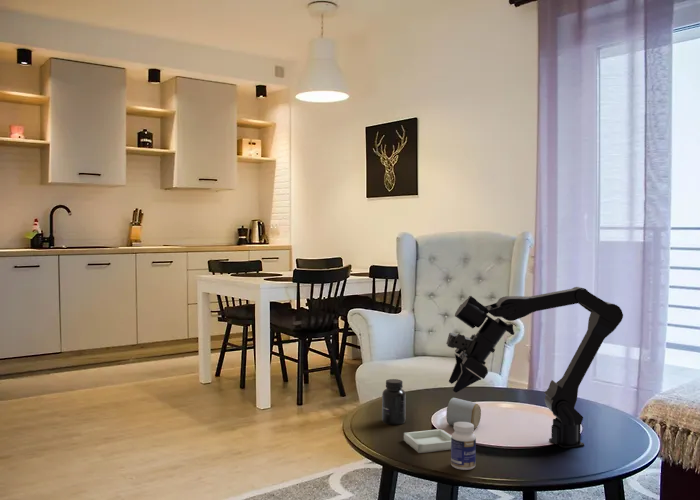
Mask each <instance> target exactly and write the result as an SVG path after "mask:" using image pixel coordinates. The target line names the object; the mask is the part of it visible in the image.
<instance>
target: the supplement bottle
mask: <svg viewBox="0 0 700 500" xmlns="http://www.w3.org/2000/svg"><path fill="white" fill-rule="evenodd" d="M403 386H404V385H403V381H402V380H401V379H397V378H391V379H386V381H385V389H384V390H383V391H382V395H381V397H382V399H381V402H382V403H381V405H382V406H381V421H382V422H383V424H386V425H391V426H399V425H402V424H404V423H405V422H406V413H407V411H406V409H407V408H406V407H407V406H406V405H407V404H406V402H407V400H406V399H407V398H406V396H407V395H406V391H405V390H404V389H403V388H404V387H403Z"/></svg>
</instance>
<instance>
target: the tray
mask: <svg viewBox="0 0 700 500" xmlns="http://www.w3.org/2000/svg"><path fill="white" fill-rule="evenodd" d="M451 436H452V434H450V433H448V432H447V431H446V430H444V429H442V428H437V429H429V430H428V429H427V430H420V431H410V432H403V441H404V442H405V443H406V444H407V445H409V447H411V448H412V449H413V450H414V451H416V452H417V453H418V454H424V453H425V454H426V453H432V452H442V451H448V450H449V451H451Z"/></svg>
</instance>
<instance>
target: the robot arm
mask: <svg viewBox="0 0 700 500" xmlns="http://www.w3.org/2000/svg"><path fill="white" fill-rule="evenodd" d="M576 304H578V305H579V306H581V307H582V308H583V309H585V310H587V311H588V312H590V313H589V317H588V323H587V330H586V332H585V334H584V336H583V337H582V339H581V342H580V344H579V346H578V347H577V350H576V351H575V353H574V355H573V357H572V359H571V361H570V362H569V364H568V366H567V368H566V370H565V372H564V374H563V376H562V377H561V378H560V379H559V380H558V381H556V382H555V381H554V380H552V379H551V381H550V383H549V385H548V388H546V390H545V391H544V394H545V397H544V403H545V406H546V407H547V408H548V409H549V411H551V413H552V415H553V416H554V417H555V418H553V419H552V425H551V438H548V441H549V442H551V443H553V444H555V443H556V444H555V445H557V444H559V446H558V447H561V448H562V449H569V448H578V447H584V446H585V443H584V442H582V441H581V428H582V427H581V425H582V423H583V420H584V417H583V415H581V413H580V412H579V411H577V409H576V408H575V406H576V404H577V401H578V394H579V387H580V385H581V383H582V381H583V379H584V377H585V376H586V374H587V371H588V370H589V368H590V367H591V365H592V362H593V361H594V360H595V357H596V355H597V353H598V351H599V349H600V348H601V345H602V344H603V342H604V340H605V339H606V338H607V337H608V336H610V335H611V333H613V332H614V331H615V330H616V329H617V327H618V326H619V325H620V323H621V322H622V321H623V318H624V313H623V310H622V308H621V307H620V306H619V305H618V304H615V303H611V302H609V301H605V300H603V299H601V298H599V296H596V295H594V294H593V293H591V292H590V291H588V289H586V288H583V287H580V286H574V287H572V288H569V289H568V288H567V289H564V290H558V291H553V292H547V293H541V294H537V295H531V296H529V295H528V296H522V295H521V296H520V295H516V296H514V295H513V296H512V295H509V296H507V295H506V296H501V297H500V298H499V299H498V300H497V301H496V302H494V303H491V304H488V305H483V304H482V303H480V302H479V301H478V300H477V299H476V298H475V297H473V296H472V295H469V296H468V297H467V298H466V299H465V300H464V302H462V303H461V304H460V305H459V307H458V308H457V309H456V311H455V314H454V317H455V318H456V319H458V320H460V321H461V322H462V323H464V324H466V325H467V326H468V327H469V328H471V329H475V328H479V330H478V331H477V332H476V334H475V333H474V334H471V336H470V337H469V336H465V335H464V334H460V333H453V332H449V333H448V336H447V340H446V346H447V347H448V348H451V349H455V350H454V352H455V353H454V358H455V364H454V367H453V369H452V372H451V375H450V377H449V380H448V382H449V383H450V384H451V385H453V384H454V383H455V384H454V386H453V388H452V391H453V392H454V393H458V392H460V391H462V390H464V389H465V388H467V387H469V386H470V385H471V386H472V385H473V384H475V383H476V382H479V381H482V380H484V379H485V378H486V376H487V375H488V373H489V370H488V367H487V365H486V363H487V362H486V360H487V358H488V357H489V355H490V354H491V353H492V354H493V353H494V352H495V350H496V349H495V348H496V345H498V343H499V342H500V341H501V339H502V338H503V336H504V335H505V334H506V332H507V333H509V334H510V335H512V336H514V335H515V331H514V324H513V323H512V322H513V321H516V320H520V319H521V318H524V317H526V316H528V315H530V314H533V313H536V312H539V311H544V310H551V309H554V308H561V307H566V306H571V305H576ZM488 314H490V315H491V316H493V317H494V318H496V319H494V318H493V317H491V316H489V315H488ZM501 318H503V320H505V321H503V320H502V319H501ZM506 321H508V322H509V323H507V322H506Z"/></svg>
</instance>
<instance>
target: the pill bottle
mask: <svg viewBox="0 0 700 500" xmlns="http://www.w3.org/2000/svg"><path fill="white" fill-rule="evenodd" d="M453 430H454V431H453V432H452V433H451V450H450V465H451V466H452V468H455V469H456V470H461V471H467V470H468V471H469V470H473V469H474V468H475V467H476V465H477V464H476V460H477V459H476V458H477V457H476V455H477V454H476V453H477V451H476V450H477V445H476V444H477V436H476V434H475V433H474V431H475V428H474V425H473V424H472V423H469V422H455V423H454V426H453Z"/></svg>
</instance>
